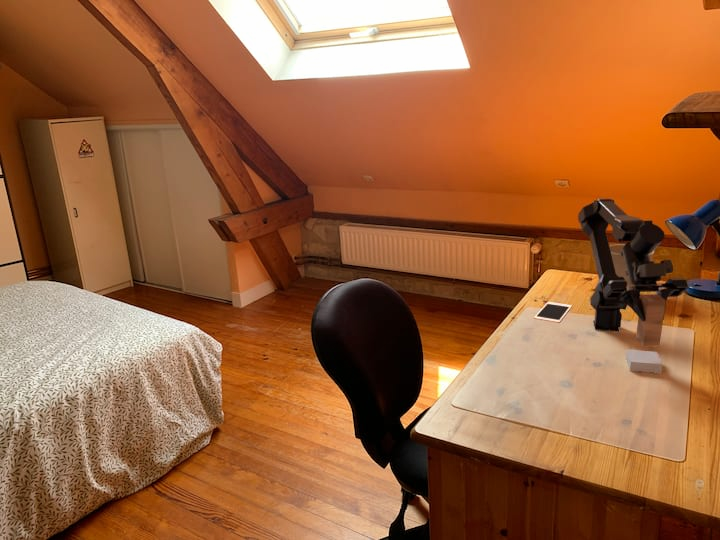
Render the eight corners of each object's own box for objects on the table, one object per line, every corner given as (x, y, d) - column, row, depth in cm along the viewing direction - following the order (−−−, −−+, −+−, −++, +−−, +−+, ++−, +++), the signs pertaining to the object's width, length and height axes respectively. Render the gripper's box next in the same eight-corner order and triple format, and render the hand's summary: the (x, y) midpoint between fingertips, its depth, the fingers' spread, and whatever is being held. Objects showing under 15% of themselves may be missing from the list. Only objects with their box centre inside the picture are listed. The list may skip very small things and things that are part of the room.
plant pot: (654, 292, 188) (659, 247, 184) (641, 305, 178) (646, 258, 173) (608, 284, 198) (612, 241, 193) (594, 296, 187) (597, 251, 183)
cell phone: (572, 306, 180) (572, 305, 180) (559, 323, 168) (559, 322, 168) (548, 303, 185) (548, 301, 184) (533, 319, 172) (533, 317, 172)
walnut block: (635, 339, 139) (641, 294, 136) (651, 338, 139) (657, 294, 135) (642, 346, 135) (648, 300, 132) (659, 345, 135) (665, 300, 132)
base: (629, 370, 137) (630, 361, 137) (625, 358, 144) (626, 349, 143) (661, 373, 135) (662, 364, 135) (655, 360, 142) (656, 351, 141)
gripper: (611, 249, 134) (626, 308, 127) (690, 246, 133) (709, 306, 126) (597, 269, 144) (609, 325, 137) (670, 267, 143) (686, 323, 136)
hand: (653, 320), depth 134 cm, fingers closed on walnut block, 4 cm apart
